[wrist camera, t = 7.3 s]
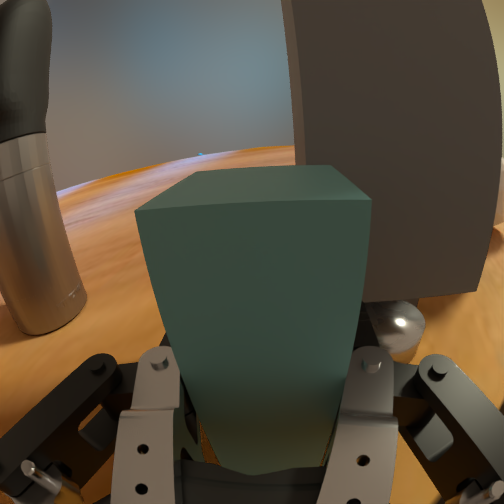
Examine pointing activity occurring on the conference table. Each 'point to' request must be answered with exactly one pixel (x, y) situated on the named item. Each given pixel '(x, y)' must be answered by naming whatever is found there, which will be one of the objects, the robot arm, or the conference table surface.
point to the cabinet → (404, 130)
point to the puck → (397, 328)
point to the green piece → (260, 303)
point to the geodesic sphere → (500, 198)
